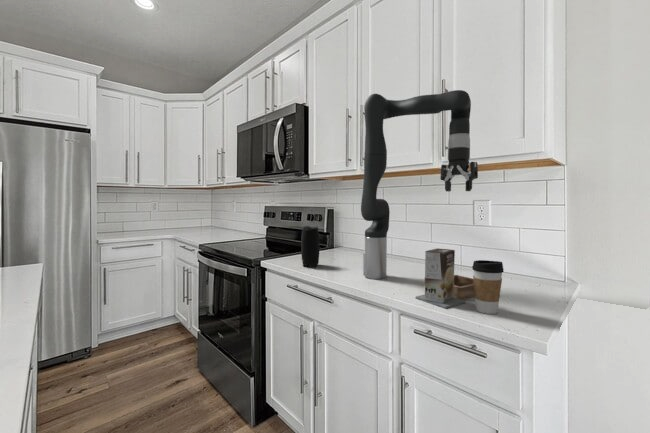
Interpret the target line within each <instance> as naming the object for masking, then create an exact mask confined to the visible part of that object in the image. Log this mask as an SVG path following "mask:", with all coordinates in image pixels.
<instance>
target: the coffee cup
mask: <svg viewBox="0 0 650 433" xmlns="http://www.w3.org/2000/svg"><path fill="white" fill-rule="evenodd" d="M471 270H472V271H473V278H472V279H474V292H475V296H474V302H475V303H474V304H475V311H477V312H479V313H481V314H487V315H495V314H497V313H498V312H499V303H500V298H501V297H500V296H501V288H502V284H503V283H502V281H503V278H502V276H503V273H505V272H504V264H503V262H502V261H497V260H486V259H485V260H483V259H482V260H481V259H479V260H473V264H472V268H471Z"/></svg>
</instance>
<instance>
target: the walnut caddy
mask: <svg viewBox="0 0 650 433" xmlns="http://www.w3.org/2000/svg"><path fill="white" fill-rule="evenodd" d="M472 297H474V298H475V292H474V279H473V278H471V277H468V276H464V275H459V274H454V298H457V299H460V300H465V299H469V298H472Z"/></svg>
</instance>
